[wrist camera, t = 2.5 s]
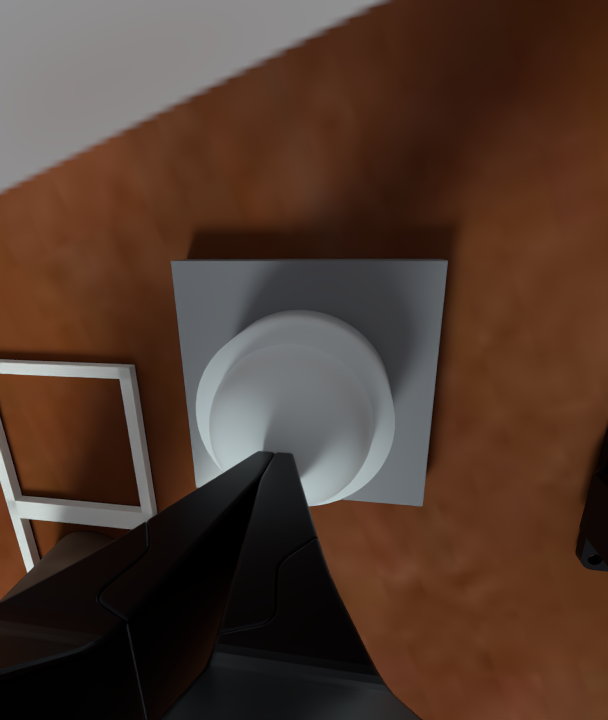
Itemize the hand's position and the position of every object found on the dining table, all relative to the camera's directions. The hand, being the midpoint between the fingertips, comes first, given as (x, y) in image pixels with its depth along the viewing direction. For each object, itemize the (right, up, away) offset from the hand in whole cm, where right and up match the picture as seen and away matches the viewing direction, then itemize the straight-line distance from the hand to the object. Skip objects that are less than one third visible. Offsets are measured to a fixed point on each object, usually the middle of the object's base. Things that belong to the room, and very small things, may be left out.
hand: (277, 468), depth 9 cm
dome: (+1, +1, +5) cm, 5 cm away
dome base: (+1, +2, +6) cm, 6 cm away
